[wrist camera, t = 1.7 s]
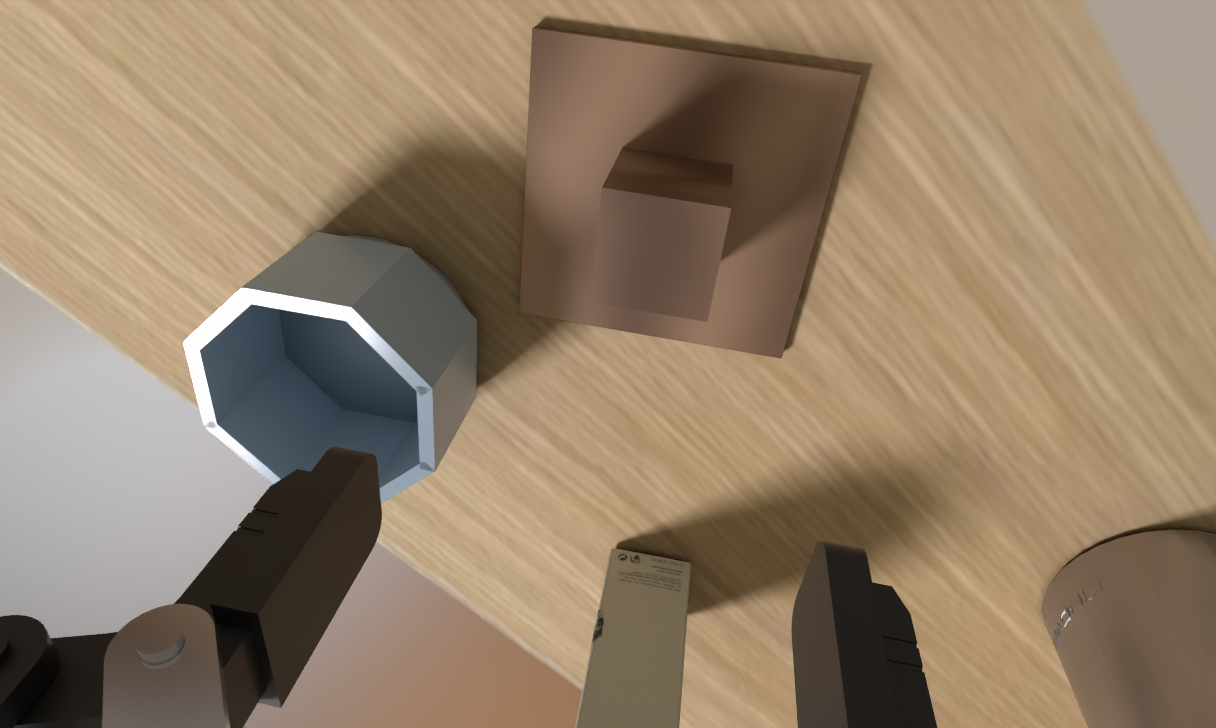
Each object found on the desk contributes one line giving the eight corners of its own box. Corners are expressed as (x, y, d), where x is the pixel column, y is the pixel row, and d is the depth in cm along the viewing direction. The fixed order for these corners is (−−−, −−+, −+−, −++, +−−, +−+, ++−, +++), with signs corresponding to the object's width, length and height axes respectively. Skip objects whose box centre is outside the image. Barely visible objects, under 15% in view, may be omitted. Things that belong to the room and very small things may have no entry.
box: (610, 542, 37) (556, 799, 27) (695, 559, 37) (674, 826, 26) (600, 608, 40) (547, 864, 29) (678, 624, 40) (653, 889, 29)
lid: (857, 69, 24) (884, 106, 20) (780, 346, 30) (787, 423, 26) (539, 24, 25) (493, 49, 21) (525, 302, 31) (487, 369, 26)
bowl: (484, 251, 30) (430, 321, 24) (480, 434, 35) (436, 522, 30) (261, 213, 30) (165, 273, 25) (291, 398, 35) (216, 478, 30)
